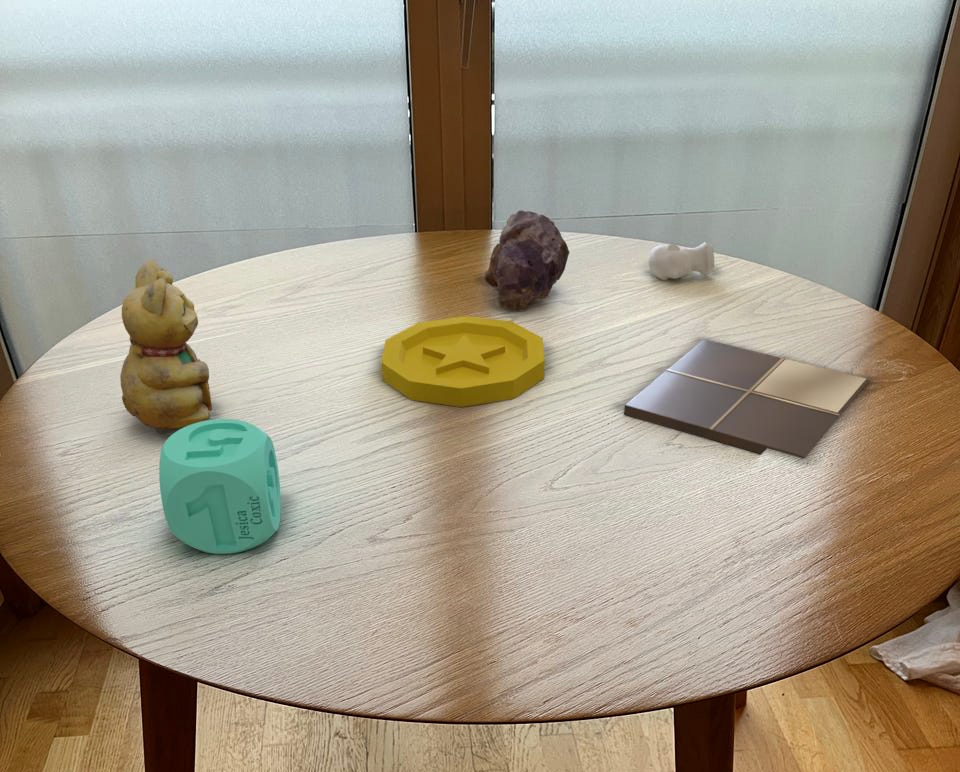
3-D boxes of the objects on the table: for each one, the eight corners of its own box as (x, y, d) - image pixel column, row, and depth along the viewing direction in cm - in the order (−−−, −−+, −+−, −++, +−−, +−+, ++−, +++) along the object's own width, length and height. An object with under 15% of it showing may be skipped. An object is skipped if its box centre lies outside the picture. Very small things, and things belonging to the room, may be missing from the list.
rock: (485, 324, 116) (571, 320, 116) (482, 255, 110) (573, 251, 109) (483, 272, 124) (564, 268, 124) (481, 204, 117) (566, 200, 117)
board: (867, 388, 100) (870, 378, 99) (802, 466, 88) (804, 455, 88) (702, 347, 108) (703, 337, 107) (623, 414, 96) (624, 404, 96)
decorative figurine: (229, 433, 95) (197, 277, 85) (142, 454, 92) (99, 295, 82) (202, 392, 101) (170, 243, 92) (120, 411, 99) (78, 259, 89)
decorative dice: (175, 558, 79) (152, 471, 74) (190, 503, 85) (170, 420, 80) (275, 552, 80) (259, 465, 75) (283, 499, 86) (269, 415, 81)
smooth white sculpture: (645, 290, 123) (649, 263, 126) (710, 293, 121) (714, 266, 124) (646, 260, 119) (651, 233, 122) (714, 263, 118) (717, 236, 120)
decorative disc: (575, 357, 106) (576, 339, 105) (477, 422, 96) (476, 403, 94) (452, 321, 114) (452, 304, 113) (348, 378, 103) (346, 360, 102)
